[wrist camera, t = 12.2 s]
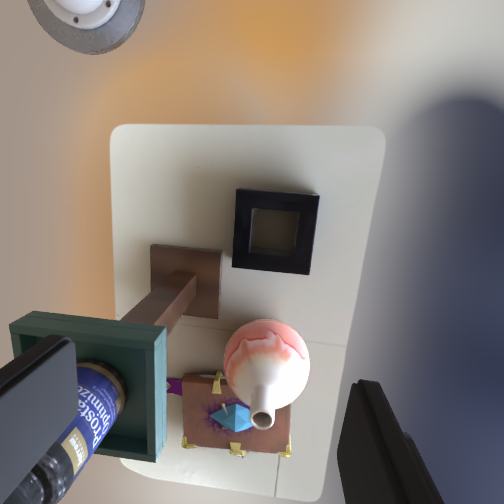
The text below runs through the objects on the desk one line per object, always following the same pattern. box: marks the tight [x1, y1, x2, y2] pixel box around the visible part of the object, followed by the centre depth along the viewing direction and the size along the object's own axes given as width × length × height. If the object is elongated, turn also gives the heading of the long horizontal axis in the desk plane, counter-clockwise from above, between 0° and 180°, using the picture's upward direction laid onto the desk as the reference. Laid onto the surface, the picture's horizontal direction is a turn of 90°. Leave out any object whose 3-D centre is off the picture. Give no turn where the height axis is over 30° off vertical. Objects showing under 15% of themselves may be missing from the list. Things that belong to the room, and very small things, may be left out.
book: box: [166, 371, 291, 458], centre depth 56 cm, size 16×25×5 cm, turn 89°
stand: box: [120, 244, 223, 338], centre depth 40 cm, size 12×12×26 cm
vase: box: [224, 319, 310, 430], centre depth 45 cm, size 14×14×18 cm
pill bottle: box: [3, 359, 128, 504], centre depth 21 cm, size 6×6×11 cm
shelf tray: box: [9, 311, 166, 463], centre depth 26 cm, size 12×12×2 cm
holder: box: [232, 188, 320, 275], centre depth 46 cm, size 12×12×4 cm
